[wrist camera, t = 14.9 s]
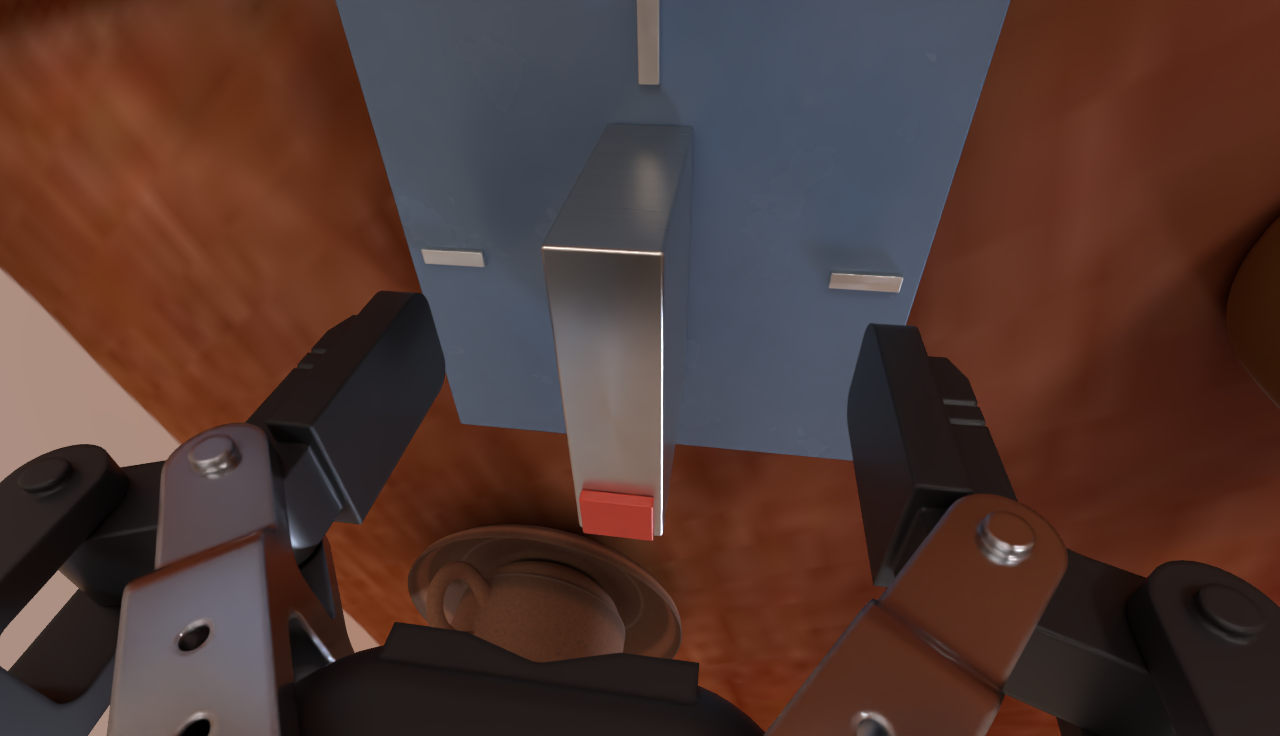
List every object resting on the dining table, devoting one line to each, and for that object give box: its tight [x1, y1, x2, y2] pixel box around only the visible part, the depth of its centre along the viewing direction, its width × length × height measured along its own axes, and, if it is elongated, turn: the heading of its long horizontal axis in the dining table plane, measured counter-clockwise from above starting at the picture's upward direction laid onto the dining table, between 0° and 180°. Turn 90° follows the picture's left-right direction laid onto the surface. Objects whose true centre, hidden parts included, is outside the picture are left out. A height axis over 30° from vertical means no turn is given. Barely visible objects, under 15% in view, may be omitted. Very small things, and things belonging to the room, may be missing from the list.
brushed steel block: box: [541, 124, 694, 541], centre depth 11 cm, size 6×2×5 cm, turn 1°
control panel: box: [335, 0, 1011, 461], centre depth 13 cm, size 14×11×3 cm
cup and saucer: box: [408, 524, 682, 662], centre depth 26 cm, size 12×12×6 cm
